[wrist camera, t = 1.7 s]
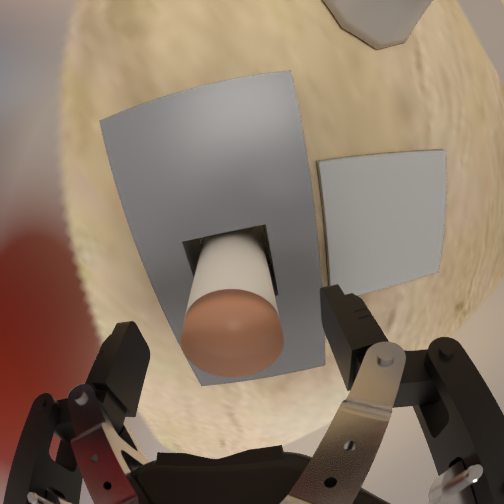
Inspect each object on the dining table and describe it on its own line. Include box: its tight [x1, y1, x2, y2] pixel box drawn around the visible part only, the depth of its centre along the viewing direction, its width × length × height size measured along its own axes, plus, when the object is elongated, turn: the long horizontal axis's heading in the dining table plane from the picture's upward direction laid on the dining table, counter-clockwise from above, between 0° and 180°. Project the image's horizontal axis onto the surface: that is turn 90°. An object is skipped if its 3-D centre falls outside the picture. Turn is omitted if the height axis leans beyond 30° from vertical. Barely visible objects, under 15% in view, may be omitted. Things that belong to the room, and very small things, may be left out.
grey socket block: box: [100, 71, 325, 386], centre depth 17 cm, size 10×20×4 cm, turn 11°
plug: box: [180, 226, 284, 377], centre depth 15 cm, size 4×4×10 cm
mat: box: [316, 149, 447, 296], centre depth 19 cm, size 11×11×1 cm
